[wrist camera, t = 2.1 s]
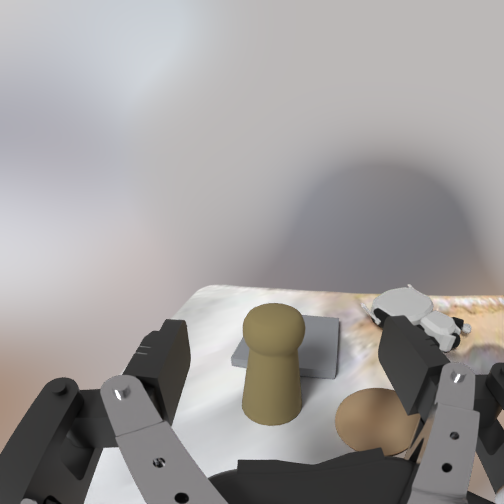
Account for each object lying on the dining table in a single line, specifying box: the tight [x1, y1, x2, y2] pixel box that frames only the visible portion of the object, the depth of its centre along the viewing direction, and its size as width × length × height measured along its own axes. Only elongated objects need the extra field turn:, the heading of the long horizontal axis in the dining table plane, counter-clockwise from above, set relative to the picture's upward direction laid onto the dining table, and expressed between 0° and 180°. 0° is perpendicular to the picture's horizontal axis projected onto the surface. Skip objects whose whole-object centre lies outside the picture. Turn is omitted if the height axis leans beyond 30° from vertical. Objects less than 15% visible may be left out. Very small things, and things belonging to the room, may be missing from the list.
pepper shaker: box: [242, 303, 306, 426], centre depth 25 cm, size 6×6×11 cm
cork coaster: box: [335, 388, 420, 457], centre depth 23 cm, size 9×9×1 cm
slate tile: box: [231, 315, 339, 379], centre depth 36 cm, size 12×12×1 cm
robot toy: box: [361, 284, 471, 352], centre depth 36 cm, size 12×4×15 cm
